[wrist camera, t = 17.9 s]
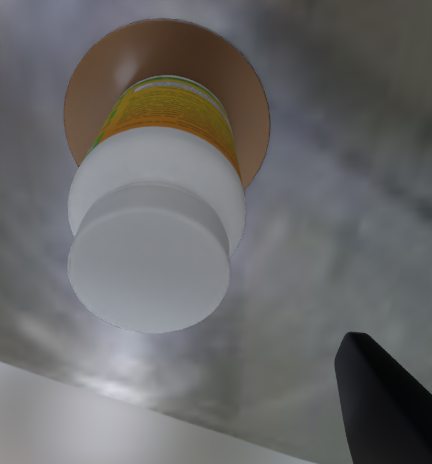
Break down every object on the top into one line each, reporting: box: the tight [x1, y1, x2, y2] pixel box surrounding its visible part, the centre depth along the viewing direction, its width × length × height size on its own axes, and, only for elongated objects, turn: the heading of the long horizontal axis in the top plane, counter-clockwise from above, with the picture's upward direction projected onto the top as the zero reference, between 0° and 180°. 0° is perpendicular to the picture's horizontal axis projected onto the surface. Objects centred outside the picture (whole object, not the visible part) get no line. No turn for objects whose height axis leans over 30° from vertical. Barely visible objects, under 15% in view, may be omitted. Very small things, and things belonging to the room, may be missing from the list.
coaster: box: [64, 18, 270, 190], centre depth 18 cm, size 9×9×1 cm
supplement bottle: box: [68, 75, 246, 333], centre depth 14 cm, size 5×5×10 cm
